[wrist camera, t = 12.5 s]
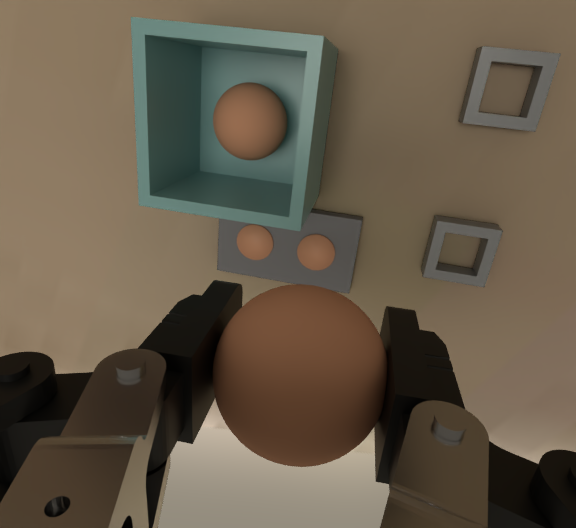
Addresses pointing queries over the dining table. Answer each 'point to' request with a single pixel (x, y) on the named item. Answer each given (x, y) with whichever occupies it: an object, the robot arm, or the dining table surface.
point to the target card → (293, 250)
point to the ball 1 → (250, 121)
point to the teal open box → (199, 119)
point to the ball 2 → (300, 375)
